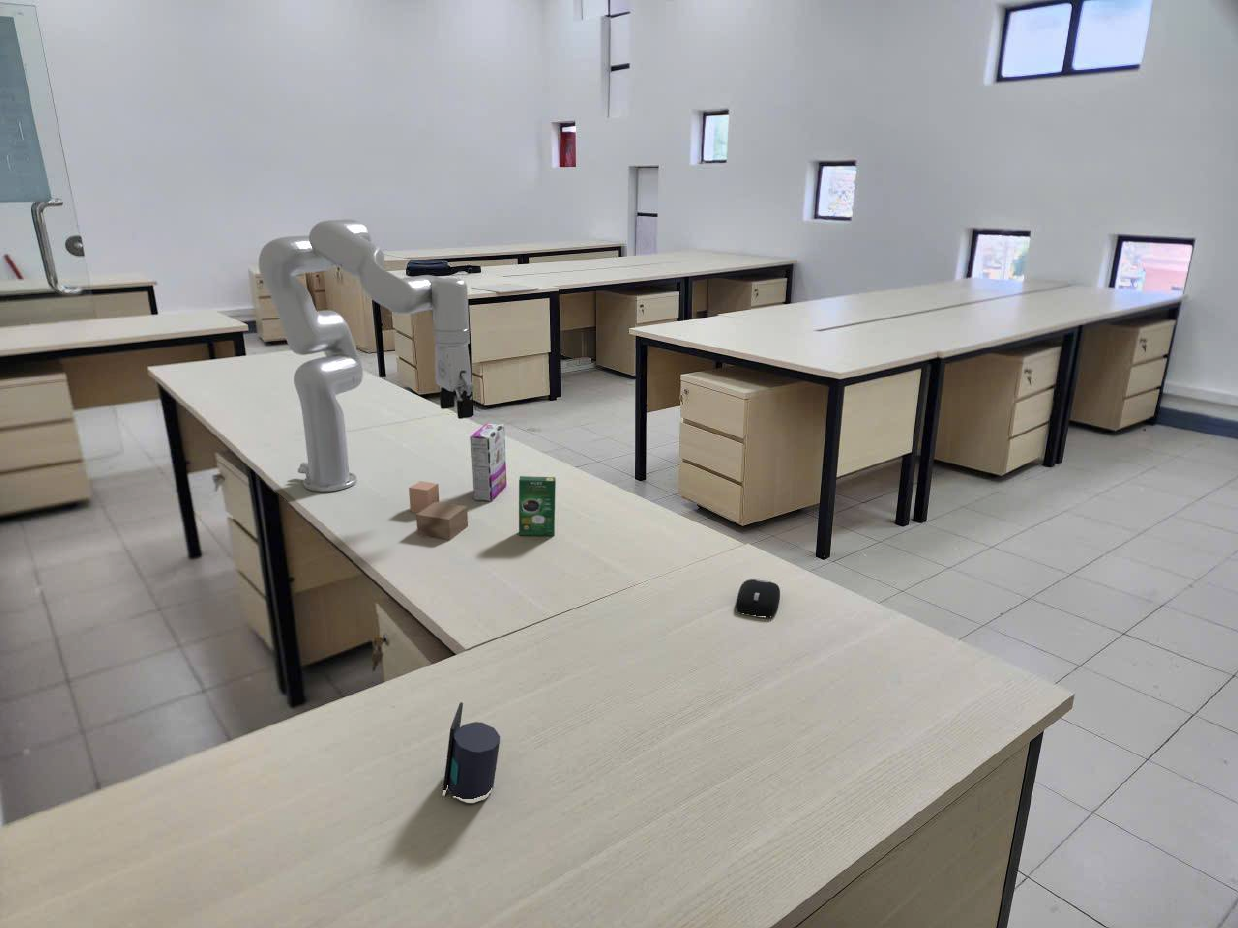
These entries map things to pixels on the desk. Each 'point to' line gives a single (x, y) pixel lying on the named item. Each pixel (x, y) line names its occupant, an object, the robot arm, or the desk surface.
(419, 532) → the walnut block
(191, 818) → the desk surface
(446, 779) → the speaker
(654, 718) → the desk surface
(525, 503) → the coffee box
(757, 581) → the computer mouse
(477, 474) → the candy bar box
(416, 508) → the peach-colored cube
